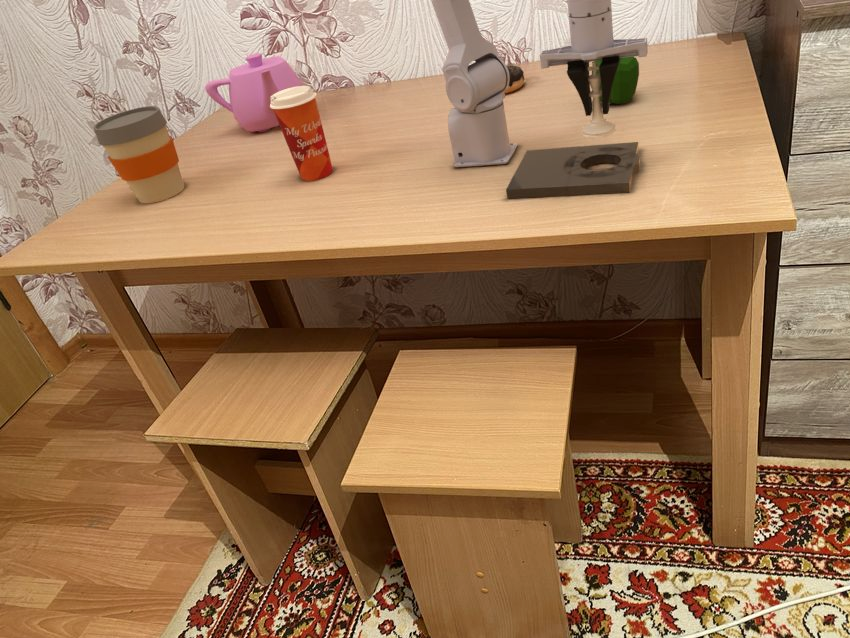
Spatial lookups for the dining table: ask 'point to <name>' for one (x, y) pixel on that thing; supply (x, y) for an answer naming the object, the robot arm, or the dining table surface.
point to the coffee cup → (303, 131)
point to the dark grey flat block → (575, 171)
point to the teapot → (255, 90)
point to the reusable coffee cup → (142, 152)
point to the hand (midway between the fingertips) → (597, 112)
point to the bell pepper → (623, 80)
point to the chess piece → (597, 110)
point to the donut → (515, 78)
